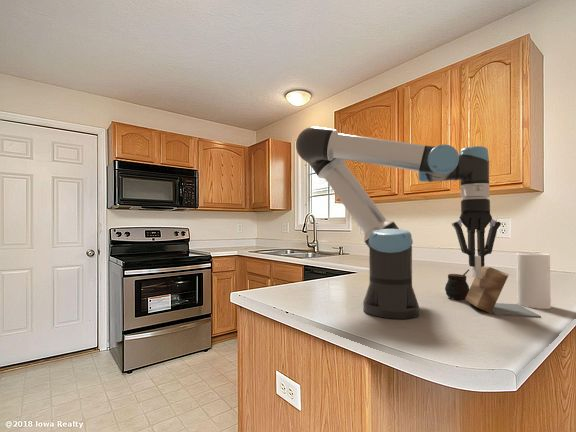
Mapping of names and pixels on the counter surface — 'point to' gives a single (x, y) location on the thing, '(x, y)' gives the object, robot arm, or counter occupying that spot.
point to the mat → (512, 310)
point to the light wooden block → (486, 288)
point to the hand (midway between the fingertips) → (476, 277)
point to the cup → (533, 280)
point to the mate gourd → (457, 286)
